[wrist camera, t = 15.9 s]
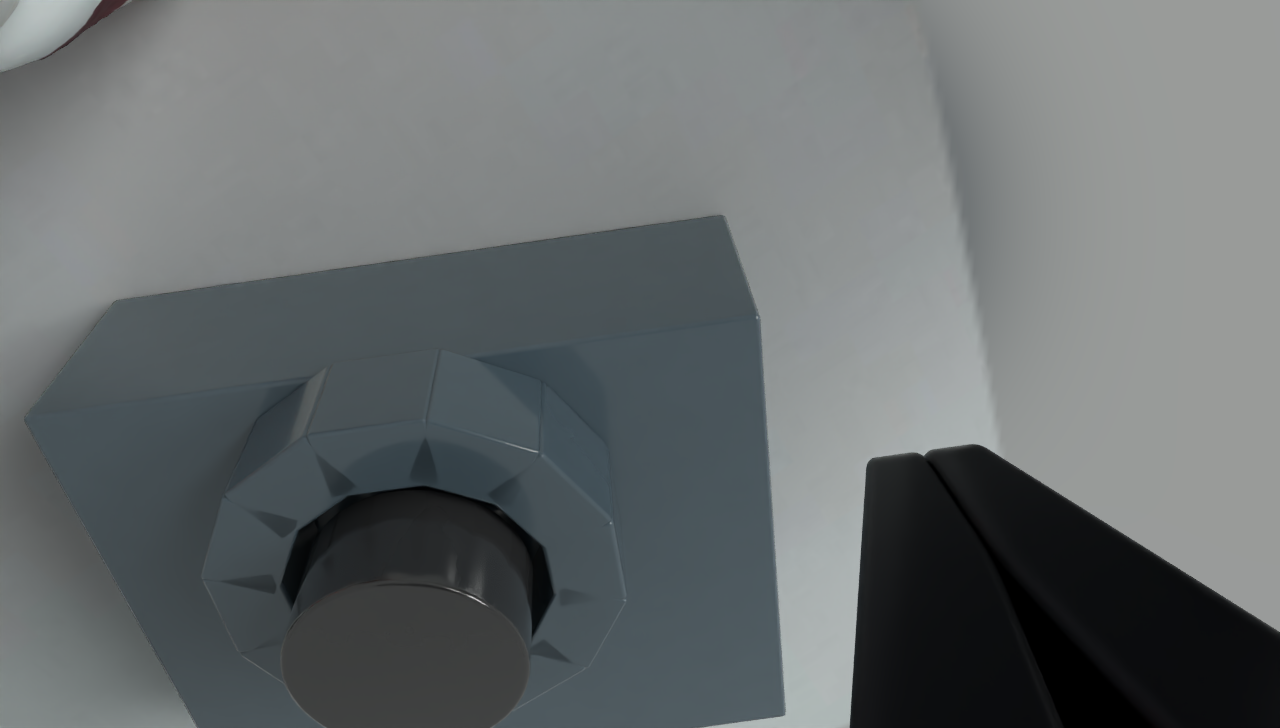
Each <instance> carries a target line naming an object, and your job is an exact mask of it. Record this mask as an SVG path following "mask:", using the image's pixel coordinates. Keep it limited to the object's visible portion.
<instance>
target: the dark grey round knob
mask: <svg viewBox="0 0 1280 728" xmlns="http://www.w3.org/2000/svg"><path fill="white" fill-rule="evenodd" d="M532 604H533V566H532V560H531V558H530V555H529V552H528V549H527V548H526V546H525V544H524V542H523V540H522V539H521V537H520V536H519V535H518V533H517V532H516V531H515V529H514V528H513V527H512V526H511V525H510V524H509V523H508V522H507V521H506V520H505V519H503V518H502V517H501V516H499V515H498V514H497V513H496V512H494V511H492V510H491V509H489V508H487V507H486V506H484V505H482V504H480V503H478V502H476V501H473V500H471V499H469V498H466V497H462V496H459V495H456V494H452V493H448V492H443V491H436V490H428V489H405V490H394V491H389V492H384V493H379V494H376V495H373V496H369V497H366V498H364V499H362V500H359V501H357V502H355V503H353V504H351V505H349V506H348V507H346V508H344V509H343V510H341V511H340V512H339V513H338V514H336V515H335V516H334V517H333V518H331V519H330V520H329V521H328V522H327V523H326V524H325V526H324V527H323V528H322V529H321V530H320V532H319V533H318V535H317V536H316V538H315V540H314V542H313V544H312V547H311V549H310V552H309V555H308V559H307V562H306V565H305V569H304V572H303V575H302V578H301V582H300V585H299V588H298V592H297V595H296V598H295V602H294V605H293V608H292V612H291V615H290V618H289V621H288V625H287V628H286V631H285V635H284V638H283V641H282V646H281V650H280V668H281V673H282V678H283V680H284V683H285V686H286V688H287V690H288V692H289V694H290V695H291V697H292V699H293V700H294V701H295V702H296V704H297V705H298V706H299V707H300V708H301V709H302V710H303V711H304V712H305V713H306V714H307V715H308V716H309V717H310V718H312V719H313V720H314V721H316V722H317V723H319V724H320V725H321V726H323V727H325V728H493V727H494V726H496V725H497V724H499V723H500V722H501V721H502V720H503V719H505V718H506V717H507V716H508V715H509V714H510V713H511V712H512V711H513V709H514V708H515V707H516V706H517V704H518V703H519V701H520V700H521V698H522V696H523V695H524V693H525V690H526V688H527V685H528V682H529V678H530V673H531V638H532Z"/></svg>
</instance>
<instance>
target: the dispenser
mask: <svg viewBox="0 0 1280 728" xmlns="http://www.w3.org/2000/svg"><path fill="white" fill-rule="evenodd" d="M24 421H25V423H26V425H27V427H28V429H29V430H30V432H31V434H32V436H33V438H34V439H35V441H36V443H37V445H38V446H39V448H40V450H41V452H42V454H43V455H44V457H45V459H46V461H47V462H48V464H49V466H50V468H51V469H52V471H53V473H54V475H55V477H56V478H57V480H58V482H59V484H60V485H61V487H62V489H63V491H64V493H65V494H66V496H67V498H68V500H69V501H70V503H71V505H72V507H73V509H74V510H75V512H76V514H77V516H78V517H79V519H80V521H81V523H82V524H83V526H84V528H85V530H86V532H87V533H88V535H89V537H90V539H91V540H92V542H93V544H94V546H95V548H96V549H97V551H98V553H99V555H100V556H101V558H102V560H103V562H104V564H105V565H106V567H107V569H108V571H109V572H110V574H111V576H112V578H113V579H114V581H115V583H116V585H117V587H118V588H119V590H120V592H121V594H122V595H123V597H124V599H125V601H126V603H127V604H128V606H129V608H130V610H131V611H132V613H133V615H134V617H135V619H136V620H137V622H138V624H139V626H140V627H141V629H142V631H143V633H144V634H145V636H146V638H147V640H148V642H149V643H150V645H151V647H152V649H153V650H154V652H155V654H156V656H157V658H158V659H159V661H160V663H161V665H162V666H163V668H164V670H165V672H166V674H167V675H168V677H169V679H170V681H171V682H172V684H173V686H174V688H175V689H176V691H177V693H178V695H179V697H180V698H181V700H182V702H183V704H184V705H185V707H186V709H187V711H188V713H189V714H190V716H191V718H192V720H193V721H194V723H195V725H196V727H197V728H325V727H323V726H321V725H320V724H319V723H317V722H316V721H314V720H313V719H312V718H310V717H309V716H308V715H307V714H306V713H305V712H304V711H303V710H302V709H301V708H300V707H299V706H298V705H297V704H296V702H295V701H294V700H293V699H292V697H291V695H290V694H289V692H288V690H287V688H286V686H285V683H284V680H283V678H282V673H281V668H280V650H281V646H282V641H283V638H284V635H285V631H286V628H287V625H288V621H289V618H290V615H291V612H292V608H293V605H294V602H295V598H296V595H297V592H298V588H299V585H300V582H301V578H302V575H303V572H304V569H305V565H306V562H307V559H308V555H309V552H310V549H311V547H312V544H313V542H314V540H315V538H316V536H317V535H318V533H319V532H320V530H321V529H322V528H323V527H324V526H325V524H326V523H327V522H328V521H329V520H330V519H331V518H333V517H334V516H335V515H336V514H338V513H339V512H340V511H341V510H343V509H344V508H346V507H348V506H349V505H351V504H353V503H355V502H357V501H359V500H362V499H364V498H366V497H369V496H373V495H376V494H379V493H384V492H389V491H394V490H405V489H428V490H436V491H443V492H448V493H452V494H456V495H459V496H462V497H466V498H469V499H471V500H473V501H476V502H478V503H480V504H482V505H484V506H486V507H487V508H489V509H491V510H492V511H494V512H496V513H497V514H498V515H499V516H501V517H502V518H503V519H505V520H506V521H507V522H508V523H509V524H510V525H511V526H512V527H513V528H514V529H515V531H516V532H517V533H518V535H519V536H520V537H521V539H522V540H523V542H524V544H525V546H526V548H527V549H528V552H529V555H530V558H531V560H532V566H533V604H532V638H531V673H530V678H529V682H528V685H527V688H526V690H525V693H524V695H523V696H522V698H521V700H520V701H519V703H518V704H517V706H516V707H515V708H514V709H513V711H512V712H511V713H510V714H509V715H508V716H507V717H506V718H505V719H503V720H502V721H501V722H500V723H499V724H497V725H496V726H494V727H493V728H700V727H708V726H715V725H722V724H730V723H737V722H744V721H751V720H759V719H766V718H773V717H780V716H784V715H785V712H786V709H785V694H784V678H783V663H782V648H781V632H780V617H779V601H778V586H777V570H776V555H775V540H774V524H773V509H772V493H771V478H770V462H769V447H768V432H767V416H766V401H765V385H764V370H763V354H762V339H761V324H760V315H759V312H758V309H757V306H756V304H755V301H754V298H753V295H752V292H751V289H750V286H749V283H748V280H747V277H746V274H745V272H744V269H743V266H742V263H741V260H740V257H739V254H738V251H737V248H736V245H735V243H734V240H733V237H732V234H731V231H730V228H729V225H728V222H727V219H726V217H725V216H723V215H720V216H712V217H705V218H698V219H691V220H684V221H677V222H670V223H663V224H656V225H649V226H642V227H634V228H627V229H620V230H613V231H606V232H599V233H592V234H585V235H578V236H571V237H564V238H556V239H549V240H542V241H535V242H528V243H521V244H514V245H507V246H500V247H493V248H485V249H478V250H471V251H464V252H457V253H450V254H443V255H436V256H429V257H422V258H415V259H407V260H400V261H393V262H386V263H379V264H372V265H365V266H358V267H351V268H344V269H336V270H329V271H322V272H315V273H308V274H301V275H294V276H287V277H280V278H273V279H266V280H258V281H251V282H244V283H237V284H230V285H223V286H216V287H209V288H202V289H195V290H187V291H180V292H173V293H166V294H159V295H152V296H145V297H138V298H131V299H124V300H117V301H115V302H113V304H112V305H111V306H110V307H109V309H108V310H107V311H106V313H105V314H104V315H103V317H102V318H101V319H100V320H99V322H98V323H97V324H96V326H95V327H94V328H93V329H92V331H91V332H90V333H89V335H88V336H87V337H86V338H85V340H84V341H83V342H82V344H81V345H80V346H79V347H78V349H77V350H76V351H75V353H74V354H73V355H72V356H71V358H70V359H69V360H68V362H67V363H66V364H65V365H64V367H63V368H62V369H61V371H60V372H59V373H58V374H57V376H56V377H55V378H54V380H53V381H52V382H51V383H50V385H49V386H48V387H47V389H46V390H45V391H44V392H43V394H42V395H41V396H40V398H39V399H38V400H37V401H36V403H35V404H34V405H33V407H32V408H31V409H30V410H29V412H28V413H27V414H26V416H25V417H24Z"/></svg>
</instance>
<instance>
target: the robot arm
mask: <svg viewBox="0 0 1280 728" xmlns="http://www.w3.org/2000/svg"><path fill="white" fill-rule="evenodd" d="M850 728H1280V632H1279V631H1277V630H1276V629H1274V628H1272V627H1271V626H1269V625H1268V624H1266V623H1264V622H1263V621H1261V620H1260V619H1258V618H1256V617H1255V616H1253V615H1252V614H1250V613H1248V612H1247V611H1245V610H1243V609H1242V608H1240V607H1239V606H1237V605H1236V604H1234V603H1232V602H1231V601H1229V600H1228V599H1226V598H1224V597H1223V596H1221V595H1220V594H1218V593H1217V592H1215V591H1213V590H1212V589H1210V588H1209V587H1207V586H1205V585H1204V584H1202V583H1201V582H1199V581H1197V580H1196V579H1194V578H1193V577H1191V576H1189V575H1188V574H1186V573H1185V572H1183V571H1181V570H1180V569H1178V568H1177V567H1175V566H1174V565H1172V564H1170V563H1169V562H1167V561H1165V560H1164V559H1162V558H1161V557H1159V556H1158V555H1156V554H1154V553H1153V552H1151V551H1150V550H1148V549H1146V548H1145V547H1143V546H1141V545H1140V544H1138V543H1137V542H1135V541H1133V540H1132V539H1130V538H1129V537H1127V536H1126V535H1124V534H1122V533H1121V532H1119V531H1118V530H1116V529H1114V528H1112V527H1111V526H1110V525H1108V524H1107V523H1105V522H1103V521H1102V520H1100V519H1098V518H1097V517H1095V516H1094V515H1092V514H1090V513H1089V512H1087V511H1086V510H1084V509H1083V508H1081V507H1079V506H1078V505H1076V504H1075V503H1073V502H1071V501H1070V500H1068V499H1067V498H1065V497H1063V496H1062V495H1060V494H1059V493H1057V492H1055V491H1054V490H1052V489H1051V488H1049V487H1048V486H1046V485H1044V484H1042V483H1041V482H1040V481H1038V480H1036V479H1034V478H1033V477H1032V476H1030V475H1028V474H1026V473H1025V472H1024V471H1022V470H1020V469H1019V468H1017V467H1016V466H1014V465H1012V464H1011V463H1009V462H1008V461H1006V460H1004V459H1003V458H1001V457H1000V456H998V455H996V454H995V453H993V452H992V451H990V450H988V449H987V448H985V447H983V446H980V445H976V444H969V445H962V446H955V447H948V448H941V449H933V450H930V451H929V452H927V453H926V454H925V455H924V456H923V455H921V454H918V453H904V454H897V455H890V456H883V457H876V458H872V459H871V460H870V461H869V462H868V464H867V468H866V482H865V497H864V513H863V529H862V544H861V560H860V575H859V591H858V607H857V622H856V638H855V654H854V669H853V685H852V700H851V716H850Z"/></svg>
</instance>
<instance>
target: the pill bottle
mask: <svg viewBox="0 0 1280 728" xmlns="http://www.w3.org/2000/svg"><path fill="white" fill-rule="evenodd" d="M131 1H132V0H0V72H4V71H7V70H10V69H14V68H17V67H20V66H22V65H25V64H27V63H30V62H33V61H35V60H41V59H44V58H46V57H48V56H50V55H52V54H53V53H55V52H56V51H58V50H59V49H61V48H63V47H65V46H67V45H68V44H69V43H70V42H72V41H73V40H74V39H75V38H76V37H78V36H79V35H80V34H81V33H83V32H84V31H85V30H87V29H88V28H90V27H91V26H93V25H95V24H96V23H97V22H98V21H99V20H101V19H103V18H105V17H107V16H108V15H109V14H111V13H112V12H114V11H116V10H118V9H120V8H121V7H123V6H124V5H126V4H128V3H129V2H131Z"/></svg>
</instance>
